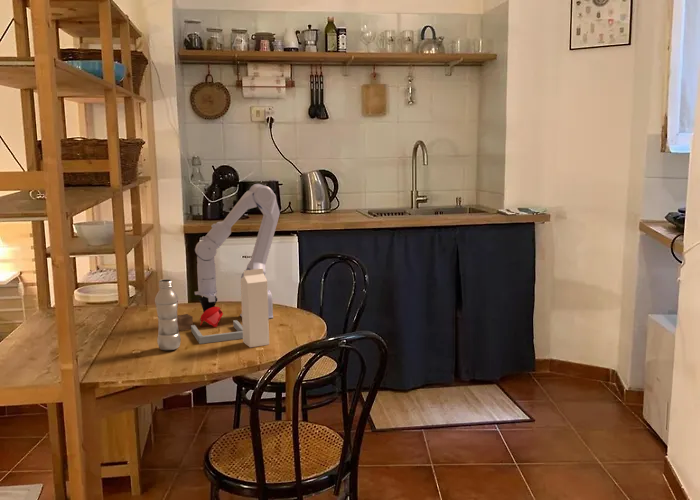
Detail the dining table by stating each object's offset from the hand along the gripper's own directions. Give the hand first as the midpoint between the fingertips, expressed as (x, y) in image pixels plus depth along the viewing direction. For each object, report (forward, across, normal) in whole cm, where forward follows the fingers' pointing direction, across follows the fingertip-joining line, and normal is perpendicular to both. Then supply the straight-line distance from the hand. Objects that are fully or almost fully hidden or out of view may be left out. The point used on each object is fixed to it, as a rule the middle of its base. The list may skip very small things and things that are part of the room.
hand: (208, 318), depth 224 cm
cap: (+1, +4, 0) cm, 5 cm away
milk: (+1, +29, +8) cm, 30 cm away
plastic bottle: (+1, +24, -16) cm, 29 cm away
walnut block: (+1, +4, -8) cm, 9 cm away
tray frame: (+1, +15, 0) cm, 15 cm away
